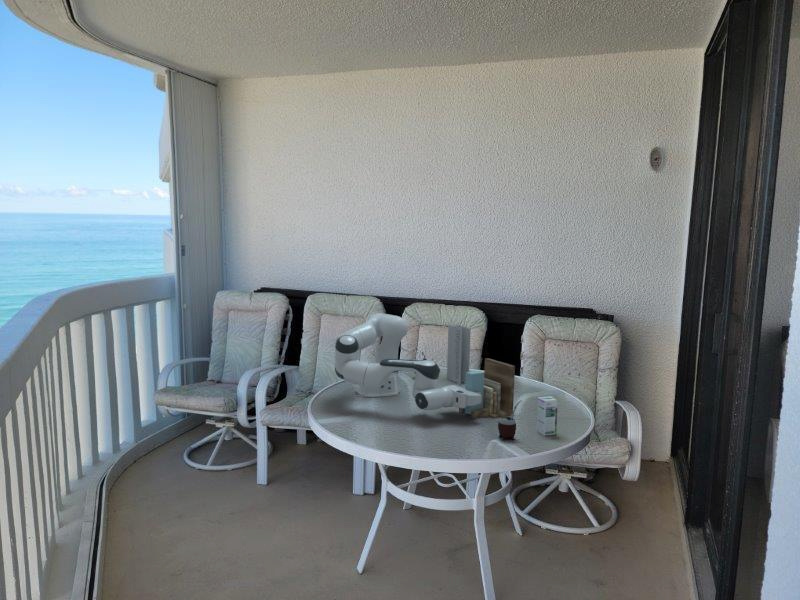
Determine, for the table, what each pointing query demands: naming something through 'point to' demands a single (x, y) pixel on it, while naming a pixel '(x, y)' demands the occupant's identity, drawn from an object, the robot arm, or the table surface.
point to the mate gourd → (507, 426)
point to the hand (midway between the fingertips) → (476, 392)
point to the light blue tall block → (475, 388)
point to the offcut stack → (491, 396)
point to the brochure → (458, 353)
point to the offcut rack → (506, 377)
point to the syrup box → (547, 415)
